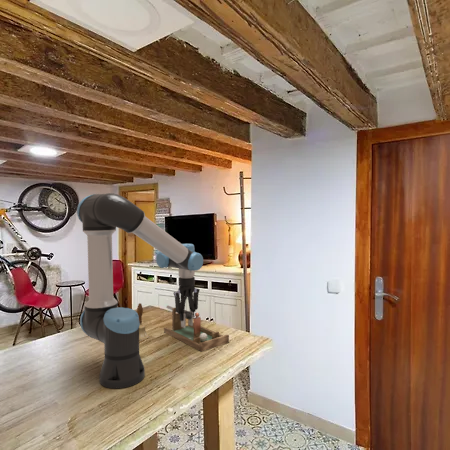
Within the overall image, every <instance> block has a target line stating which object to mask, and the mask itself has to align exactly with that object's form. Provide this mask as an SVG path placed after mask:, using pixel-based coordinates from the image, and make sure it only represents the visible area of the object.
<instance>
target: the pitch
mask: <svg viewBox="0 0 450 450" xmlns="http://www.w3.org/2000/svg"><path fill="white" fill-rule="evenodd" d="M171 311H172V313H171V315H172V316H171V319H172V323H171V324H172V328H171V329H170V328H168V327H163V333H164V334H167V335H169V336H170V337H172V338H174V339H176V340H178V341H180V342H182V343H184V344H186V345H187V346H190V347H191V348H193V349H195V350H197V351H199V352H205V351H207V350H211V349H213V348H216V347H220V346H223V345H225V344H228V343H230V335H229V334H224V335H223V334H221V333H220V332H219V331H213V330H212V329H209V328H206V327H204V326H202V325H201V334H202V333H205V334H207V340H206V341H201V340H200V337H197V338H194V322H193V326H190V325H186V328H183V327H181V320H180V314H179V313H177V312H176V307H175V306H174V307H173V308H172V310H171Z"/></svg>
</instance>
